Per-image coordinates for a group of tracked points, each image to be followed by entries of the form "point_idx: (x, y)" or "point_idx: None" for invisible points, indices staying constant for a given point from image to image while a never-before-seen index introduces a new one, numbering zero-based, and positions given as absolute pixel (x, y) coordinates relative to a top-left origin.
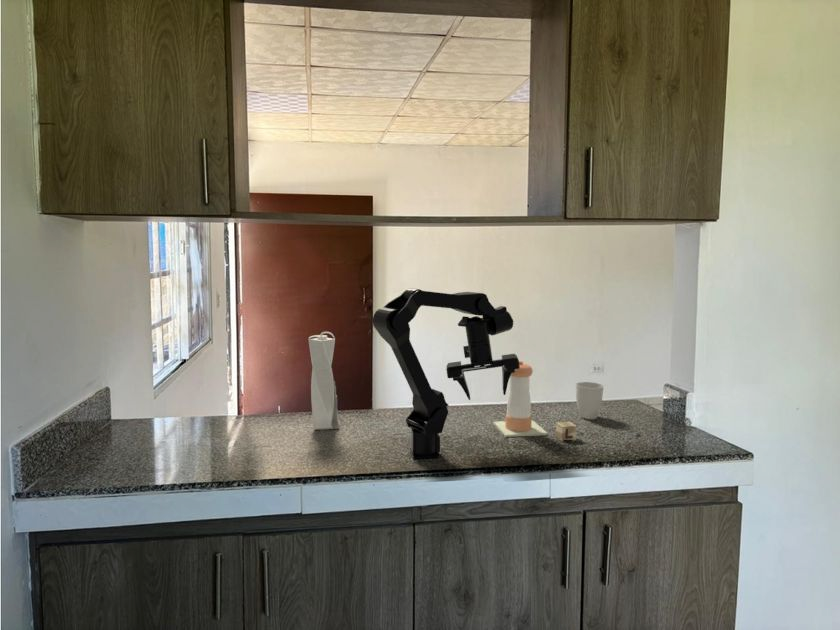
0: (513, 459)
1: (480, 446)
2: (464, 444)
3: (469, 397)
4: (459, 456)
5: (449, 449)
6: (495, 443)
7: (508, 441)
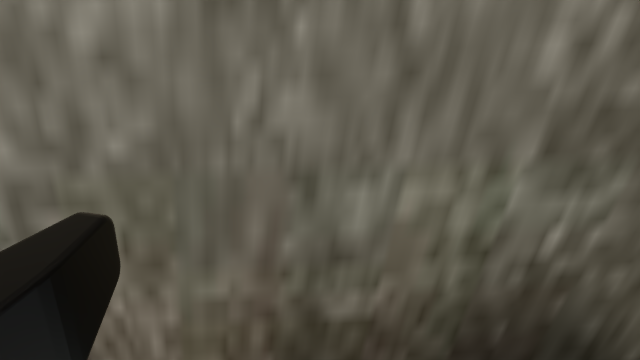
0: (467, 332)
1: (298, 144)
2: (173, 106)
3: (89, 328)
4: (152, 309)
5: (70, 207)
6: (426, 76)
7: (549, 25)
